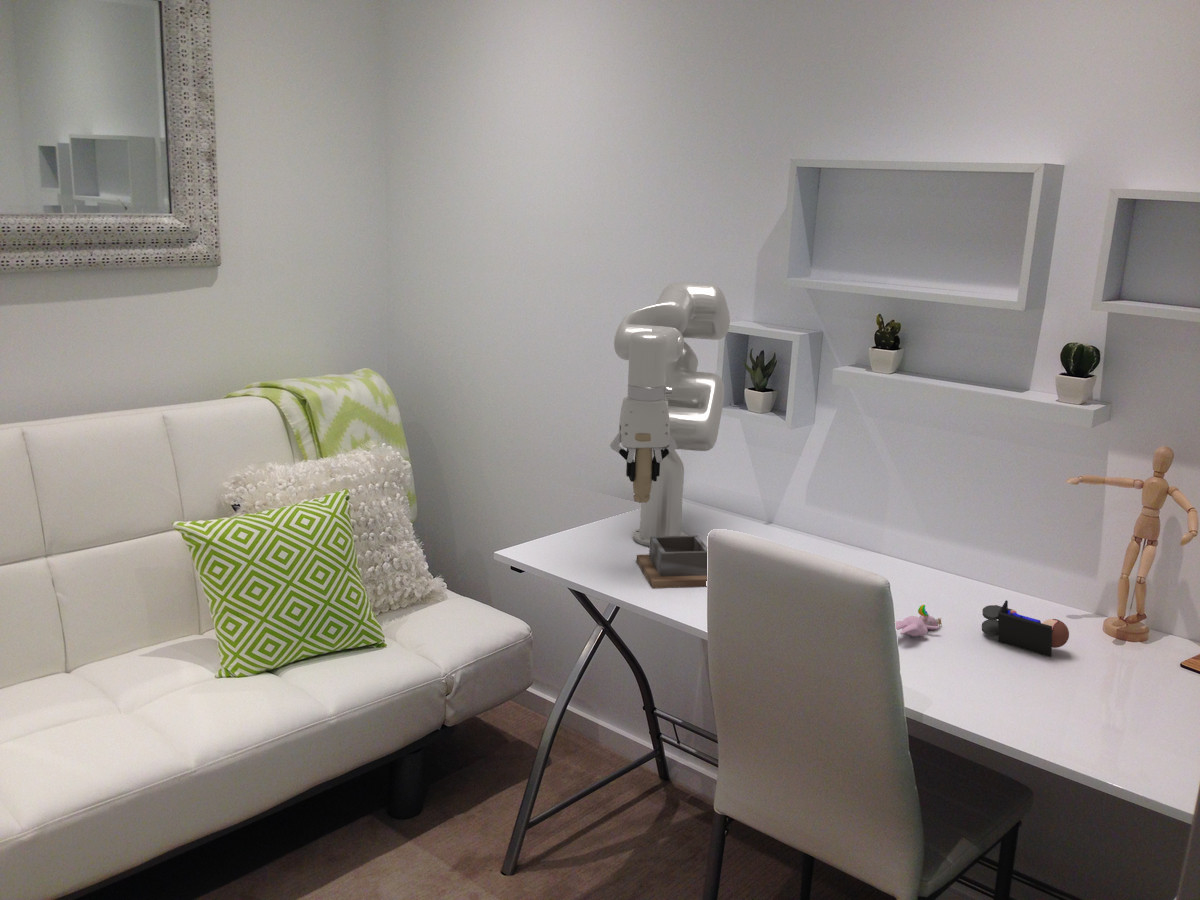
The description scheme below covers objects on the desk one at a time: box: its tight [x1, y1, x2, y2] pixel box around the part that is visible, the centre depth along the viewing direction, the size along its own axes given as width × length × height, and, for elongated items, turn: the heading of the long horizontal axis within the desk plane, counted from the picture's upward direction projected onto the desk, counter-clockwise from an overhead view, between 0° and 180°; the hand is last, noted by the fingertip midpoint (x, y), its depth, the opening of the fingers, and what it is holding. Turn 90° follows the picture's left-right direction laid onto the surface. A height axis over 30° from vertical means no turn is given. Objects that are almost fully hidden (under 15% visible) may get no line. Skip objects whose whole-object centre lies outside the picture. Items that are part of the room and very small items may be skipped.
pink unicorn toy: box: [895, 604, 943, 638], centre depth 193 cm, size 6×6×15 cm
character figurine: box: [981, 599, 1070, 658], centre depth 190 cm, size 8×7×15 cm
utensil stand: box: [635, 535, 708, 589], centre depth 220 cm, size 16×15×6 cm
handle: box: [632, 434, 652, 504], centre depth 214 cm, size 5×6×15 cm
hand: (642, 478), depth 215 cm, fingers closed on handle, 4 cm apart
